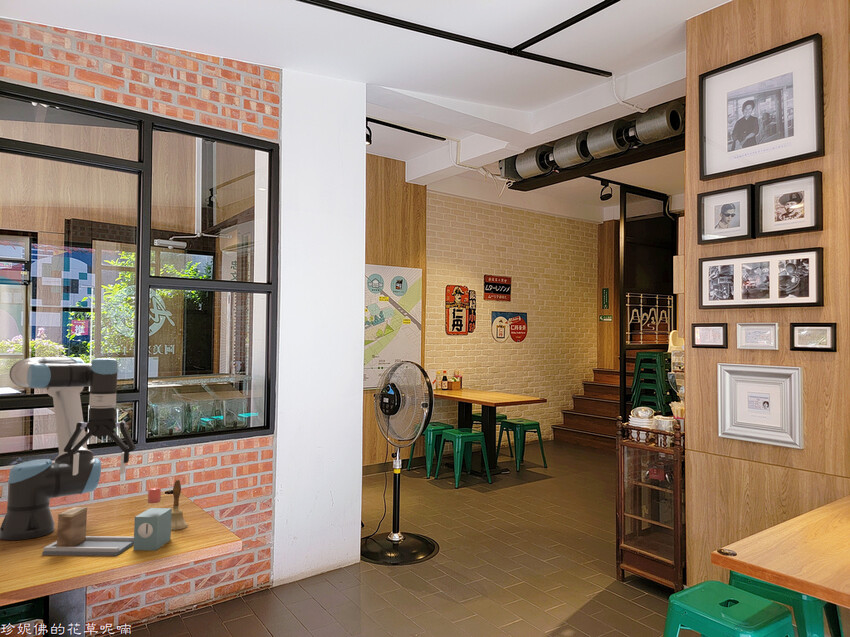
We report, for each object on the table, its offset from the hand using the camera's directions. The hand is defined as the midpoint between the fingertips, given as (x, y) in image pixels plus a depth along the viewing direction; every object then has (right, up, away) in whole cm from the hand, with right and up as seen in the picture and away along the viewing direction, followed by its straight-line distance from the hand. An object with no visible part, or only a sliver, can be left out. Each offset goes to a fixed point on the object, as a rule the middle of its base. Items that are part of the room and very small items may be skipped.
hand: (99, 473), depth 184 cm
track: (+1, -21, -7) cm, 22 cm away
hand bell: (+17, -23, +16) cm, 33 cm away
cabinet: (+18, -22, -3) cm, 28 cm away
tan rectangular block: (-5, -20, -7) cm, 21 cm away
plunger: (+18, -9, -2) cm, 20 cm away
